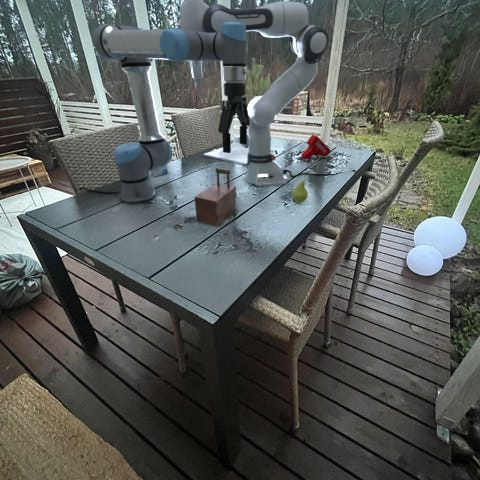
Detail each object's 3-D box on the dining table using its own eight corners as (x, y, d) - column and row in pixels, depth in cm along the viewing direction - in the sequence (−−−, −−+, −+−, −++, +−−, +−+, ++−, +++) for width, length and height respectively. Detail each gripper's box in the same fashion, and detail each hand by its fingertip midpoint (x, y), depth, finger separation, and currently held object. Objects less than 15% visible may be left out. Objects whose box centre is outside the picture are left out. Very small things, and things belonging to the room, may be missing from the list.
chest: (216, 205, 119) (215, 185, 114) (235, 209, 115) (235, 189, 110) (196, 220, 108) (194, 199, 103) (217, 225, 104) (216, 204, 99)
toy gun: (302, 156, 169) (316, 135, 166) (298, 155, 172) (312, 134, 169) (317, 170, 180) (331, 150, 177) (313, 169, 183) (326, 149, 180)
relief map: (245, 164, 167) (245, 156, 164) (203, 155, 185) (203, 148, 182) (268, 154, 185) (268, 147, 183) (228, 147, 203) (228, 140, 200)
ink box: (163, 171, 158) (160, 150, 152) (168, 172, 155) (165, 152, 149) (150, 174, 153) (146, 153, 147) (155, 176, 150) (151, 155, 144)
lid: (216, 185, 115) (215, 165, 110) (236, 188, 111) (235, 169, 106) (194, 199, 103) (192, 178, 98) (216, 203, 99) (215, 182, 94)
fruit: (288, 200, 123) (290, 174, 116) (302, 197, 125) (305, 172, 119) (296, 206, 118) (299, 179, 111) (310, 203, 120) (314, 177, 114)
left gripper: (226, 84, 79) (228, 157, 90) (259, 80, 97) (257, 141, 109) (204, 84, 81) (209, 155, 93) (240, 80, 100) (240, 140, 112)
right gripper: (204, 50, 100) (207, 92, 108) (201, 52, 117) (204, 89, 125) (187, 50, 100) (191, 93, 107) (187, 52, 117) (190, 89, 124)
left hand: (235, 148), depth 101 cm, fingers open, 13 cm apart
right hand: (198, 90), depth 116 cm, fingers open, 8 cm apart
